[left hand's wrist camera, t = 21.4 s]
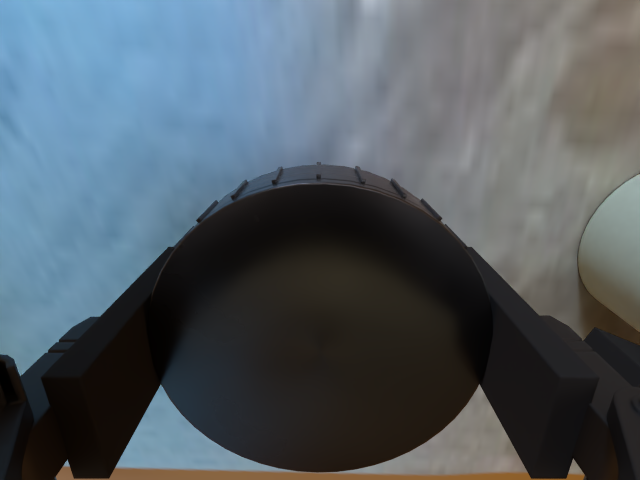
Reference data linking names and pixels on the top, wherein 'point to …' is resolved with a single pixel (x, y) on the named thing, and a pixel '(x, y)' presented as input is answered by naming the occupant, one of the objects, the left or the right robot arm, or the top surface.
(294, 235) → the lid
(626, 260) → the jar
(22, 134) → the top surface
